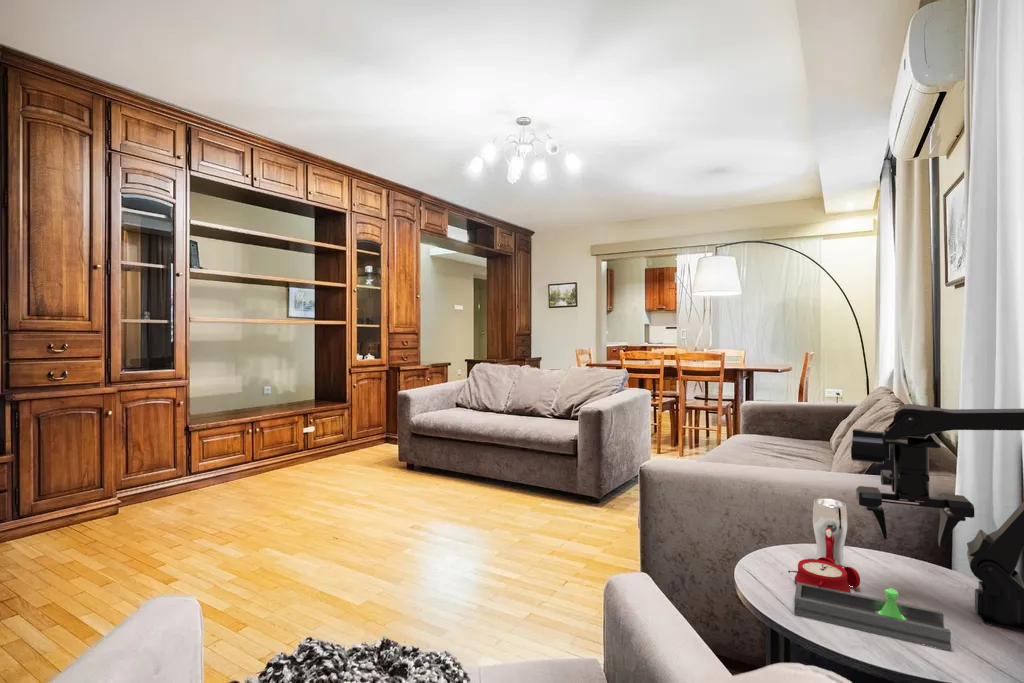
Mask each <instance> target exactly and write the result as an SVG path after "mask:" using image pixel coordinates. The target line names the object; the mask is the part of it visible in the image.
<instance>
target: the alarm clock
mask: <svg viewBox="0 0 1024 683" xmlns="http://www.w3.org/2000/svg"><path fill="white" fill-rule="evenodd" d="M842 567H845V568H842ZM787 572H788V573H796V574H795V576H794V582H795V583H797V582H800V583H805V584H810V585H815V586H819V587H824V588H829V589H834V590H839V591H844V592H849V593H851V592H852V591H851V589H857V588H858V587H859V586H860V585H861V577H860V574H859V572H858V571H857V570H856V569H855V568H853V567H851V566H846V565H845V566H842V565H837V564H835V563H834V562H833V561H832V560H831V559H829V558H826V557H821V558H818V559H816V558H806V559H805V558H804V559H802V560H799V561H798V563H797V570H790V569H789V570H788V571H787ZM849 585H850V586H853V588H850V586H849Z"/></svg>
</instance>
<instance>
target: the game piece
mask: <svg viewBox="0 0 1024 683" xmlns="http://www.w3.org/2000/svg"><path fill="white" fill-rule="evenodd" d="M884 594H885V597H886V598H887V601H886V603H885V604H884V606H883V608H882V610H880V611H878V614H881V615H885V616H890V617H895V618H899V619H904V620H906V619H905V618H904V616H903V615H902V614H901V613H900V611H899V609H898V606H897V604H896V602H897V601H896V600H898V599H899V598H900V595H899V593H898V590H896V589H894V588H891V587H890V588H887V589H884Z"/></svg>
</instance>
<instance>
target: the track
mask: <svg viewBox="0 0 1024 683" xmlns="http://www.w3.org/2000/svg"><path fill="white" fill-rule="evenodd" d="M795 583H796V582H795ZM886 601H887V600H886V599H882V598H878V597H874V596H873V597H872V596H868V595H862V594H859V593H853V592H850V593H849V592H844V591H839V590H834V589H829V588H824V587H819V586H815V585H810V584H805V583H800V582H797V583H796V584H795V593H794V616H798V617H803V618H805V619H811V620H814V621H815V620H816V621H818V622H819V621H820V622H824V623H828V624H832V625H836V626H842V627H845V628H849V629H854V630H858V631H863V632H868V633H871V634H875V635H879V636H884V637H889V638H891V639H897V640H900V641H906V642H910V643H913V642H914V643H913V644H918V643H919V645H922V644H925V645H924V646H926V645H928V646H927V647H930V646H932V647H931V648H935V647H936V649H939V648H940V650H943V649H944V650H943V651H948V652H952V644H951V641H952V637H951V635H952V634H951V633H952V632H951V630H950V629H949V628H945V626H944V623H945V622H944V618H945V617H944V616H945V615H944V611H941V610H937V609H931V608H926V607H921V606H918V605H911V604H905V603H902V602H897V601H895V602H896V604H897V606H898V609H899V611H900V613H901V614H902V615H903V616H904V618H905V619H906V620H904V619H899V618H895V617H890V616H885V615H881V614H878V611H880V610H882V608H883V606H884V604H885V603H886Z"/></svg>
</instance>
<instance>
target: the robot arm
mask: <svg viewBox="0 0 1024 683" xmlns="http://www.w3.org/2000/svg"><path fill="white" fill-rule="evenodd" d="M884 428H885V429H884V430H883V431H875V430H874V431H873V430H866V429H865V430H864V429H860V428H853V429H852V440H851V441H852V443H851V445H850V456H851V461H853V462H861V463H862V462H863V463H871V464H882V465H884V463H885V462H887V460H889V461H890V460H891V445H893V472H892V470H890V469H889V470H888V469H881V470H880V484H881V485H882V486H888V487H890V488H891V492H892V493H886V492H881V490H880V489H879V487H873V486H862V485H858V486H857V488H855V495H856V496H855V499H856V501H857V503H858V505H859V506H861V507H865V509H866V511H870V512H872V513H873V515H874V517H875V519H876V521H877V524H878V526H879V529H880V532H881V535H882V538H883V540H887V535H888V531H887V527H886V525H887V524H886V517H885V510H884V508H883V506H882V505H883V503H886V504H893V505H894V504H898V505H906V506H914V507H923V508H924V507H925V508H934V509H939V515H940V517H939V527H938V537H937V538H938V541H937V542H938V546H939V547H940V548H942V547H944V545H945V543H946V541H947V540H948V538H949V536H950V535H951V533H952V531H953V530H954V529H955V528H956V526H957V525H958V523H960V522H966V519H967V518H969V519H970V518H971V519H972V518H975V507H974V506H975V504H973V503H972V502H971V501H970V500H969V499H968V498H966V497H965V495H959V494H949V493H942V494H941V497H940V498H939V497H937V498H936V497H930V451H929V450H930V449H931V448H932V449H941V448H942V447H941V443H940V441H939V440H937V439H935V438H934V436H933V434H937V433H944V432H948V431H949V432H950V431H1024V408H976V409H974V408H969V409H968V408H967V409H965V408H964V409H962V408H960V409H957V408H956V409H953V408H952V409H950V408H949V409H948V408H941V407H936V406H931V405H921V404H913V403H908V404H907V403H906V404H903V405H902V404H901V405H900V406H898V408H896V410H895V412H894V414H893V419H892V421H891V422H890V424H888V426H885V427H884ZM924 435H925V437H924ZM905 436H907V439H901V438H904V437H905ZM921 436H923V437H921ZM966 545H967V552H966V555H967V560H968V564H969V565H968V566H969V568H970V571H971V573H972V574H973V576H974V577H976V579H978V580H979V581H978V588H975V589H974V610H975V612H976V614H977V615H978V616H979V617H980V619H981V621H982V623H984V624H986V625H989V626H990V625H991V626H996V627H1000V628H1005V629H1010V630H1013V631H1019V632H1024V581H1023V580H1022V577H1021V575H1020V572H1018V571H1017V570H1016V568H1017V566H1018V563H1019V562H1020V561H1019V560H1020V558H1021V554H1022V552H1023V550H1024V500H1023V501H1022V502H1021V503H1020V505H1019V506H1018V507H1017V508H1016V509H1015V510H1014V511H1013V512H1012V514H1011V515H1009V517H1008V518H1007V519H1006V520H1005V521H1004V522H1003V523H1002V525H1001V526H1000V527H998V528H997V529H996V530H995V531H993V532H991V533H990V532H989V533H986V532H985V531H984V530H982V529H979V530H978V531H977V533H976V535H975V537H974V538H973V539H972V540H971V541H968V542H967V543H966Z"/></svg>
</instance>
